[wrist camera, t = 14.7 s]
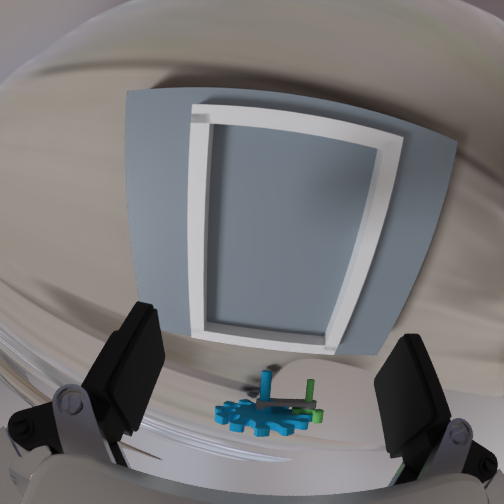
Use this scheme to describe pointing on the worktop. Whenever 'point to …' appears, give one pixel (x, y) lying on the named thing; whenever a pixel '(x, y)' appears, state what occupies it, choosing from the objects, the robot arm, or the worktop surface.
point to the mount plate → (278, 215)
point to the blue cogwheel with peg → (270, 411)
